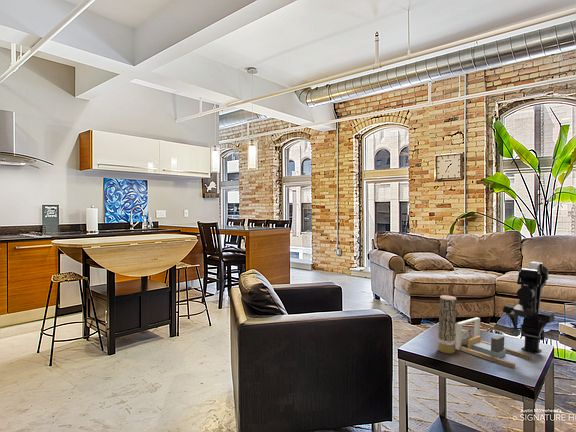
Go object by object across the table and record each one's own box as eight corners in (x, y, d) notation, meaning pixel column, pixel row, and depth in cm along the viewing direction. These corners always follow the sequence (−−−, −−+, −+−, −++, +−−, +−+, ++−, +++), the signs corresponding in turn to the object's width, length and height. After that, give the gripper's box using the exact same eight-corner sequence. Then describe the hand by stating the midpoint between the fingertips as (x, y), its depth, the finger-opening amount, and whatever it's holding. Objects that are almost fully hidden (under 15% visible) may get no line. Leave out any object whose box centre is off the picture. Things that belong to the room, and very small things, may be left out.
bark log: (455, 354, 168) (457, 299, 167) (439, 353, 169) (441, 298, 169) (452, 349, 175) (454, 296, 174) (436, 347, 176) (438, 294, 175)
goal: (475, 341, 186) (476, 317, 186) (479, 342, 185) (480, 318, 184) (455, 348, 175) (456, 322, 175) (459, 350, 174) (460, 323, 174)
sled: (478, 345, 181) (479, 328, 181) (507, 354, 170) (507, 336, 170) (467, 349, 175) (468, 332, 175) (496, 359, 164) (497, 340, 164)
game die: (459, 351, 182) (452, 331, 188) (477, 348, 179) (470, 327, 185) (456, 347, 176) (449, 326, 182) (475, 343, 173) (468, 322, 179)
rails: (480, 343, 184) (480, 339, 184) (532, 359, 165) (532, 355, 165) (460, 350, 174) (460, 347, 174) (513, 368, 155) (514, 364, 155)
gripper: (497, 295, 167) (495, 329, 168) (544, 304, 152) (542, 342, 152) (509, 292, 174) (508, 325, 174) (555, 301, 158) (554, 338, 159)
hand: (526, 332), depth 165 cm, fingers open, 9 cm apart
